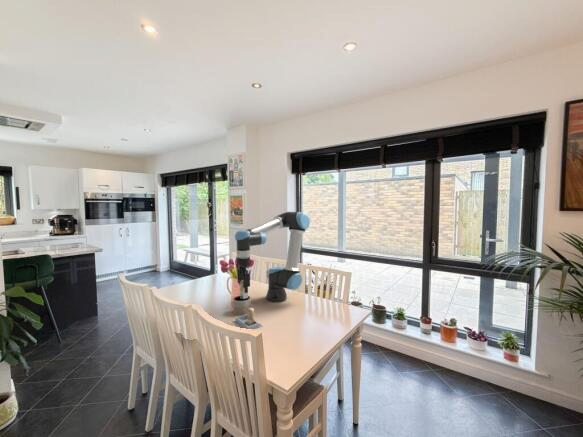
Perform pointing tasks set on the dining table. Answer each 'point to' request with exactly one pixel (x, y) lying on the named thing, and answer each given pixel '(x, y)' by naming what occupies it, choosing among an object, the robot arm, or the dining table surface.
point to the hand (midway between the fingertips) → (243, 296)
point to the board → (242, 323)
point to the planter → (240, 305)
